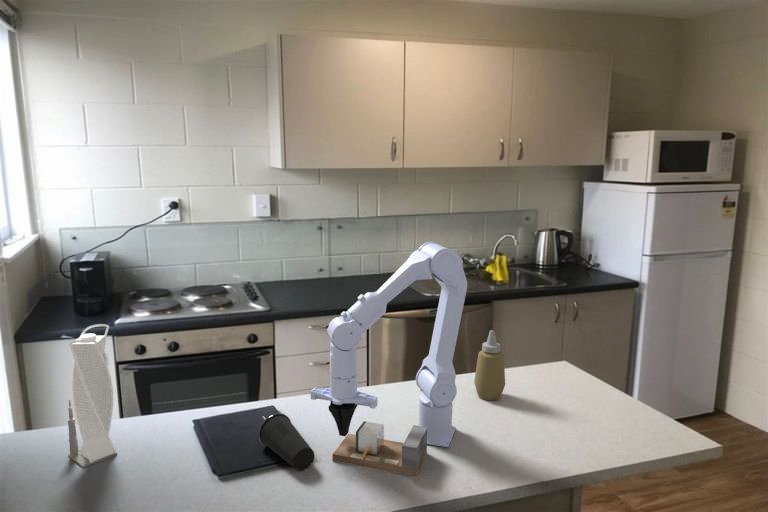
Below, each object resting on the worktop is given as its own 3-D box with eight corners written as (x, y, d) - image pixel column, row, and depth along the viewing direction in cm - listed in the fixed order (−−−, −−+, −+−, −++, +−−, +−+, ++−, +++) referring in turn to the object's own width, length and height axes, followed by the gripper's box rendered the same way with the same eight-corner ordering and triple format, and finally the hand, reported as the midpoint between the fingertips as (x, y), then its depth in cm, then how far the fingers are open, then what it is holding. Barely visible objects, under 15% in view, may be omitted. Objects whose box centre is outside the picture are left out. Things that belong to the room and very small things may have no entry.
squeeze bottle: (481, 404, 147) (484, 337, 144) (468, 391, 155) (471, 327, 152) (510, 401, 149) (513, 334, 146) (496, 388, 157) (499, 325, 154)
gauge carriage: (363, 440, 125) (363, 421, 124) (383, 443, 124) (384, 424, 123) (352, 456, 118) (352, 436, 118) (373, 460, 117) (373, 440, 116)
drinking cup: (326, 445, 118) (283, 405, 134) (297, 438, 114) (256, 398, 129) (310, 480, 118) (269, 436, 133) (280, 474, 113) (241, 429, 129)
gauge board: (348, 439, 129) (348, 414, 128) (426, 453, 124) (427, 427, 122) (332, 460, 120) (332, 434, 119) (416, 475, 115) (416, 448, 114)
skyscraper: (108, 440, 127) (98, 319, 122) (126, 453, 122) (116, 326, 117) (68, 456, 121) (55, 328, 116) (85, 469, 116) (73, 337, 111)
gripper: (303, 376, 119) (305, 437, 122) (370, 385, 115) (369, 448, 118) (317, 364, 126) (318, 422, 129) (380, 373, 122) (380, 432, 124)
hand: (343, 433), depth 124 cm, fingers closed
